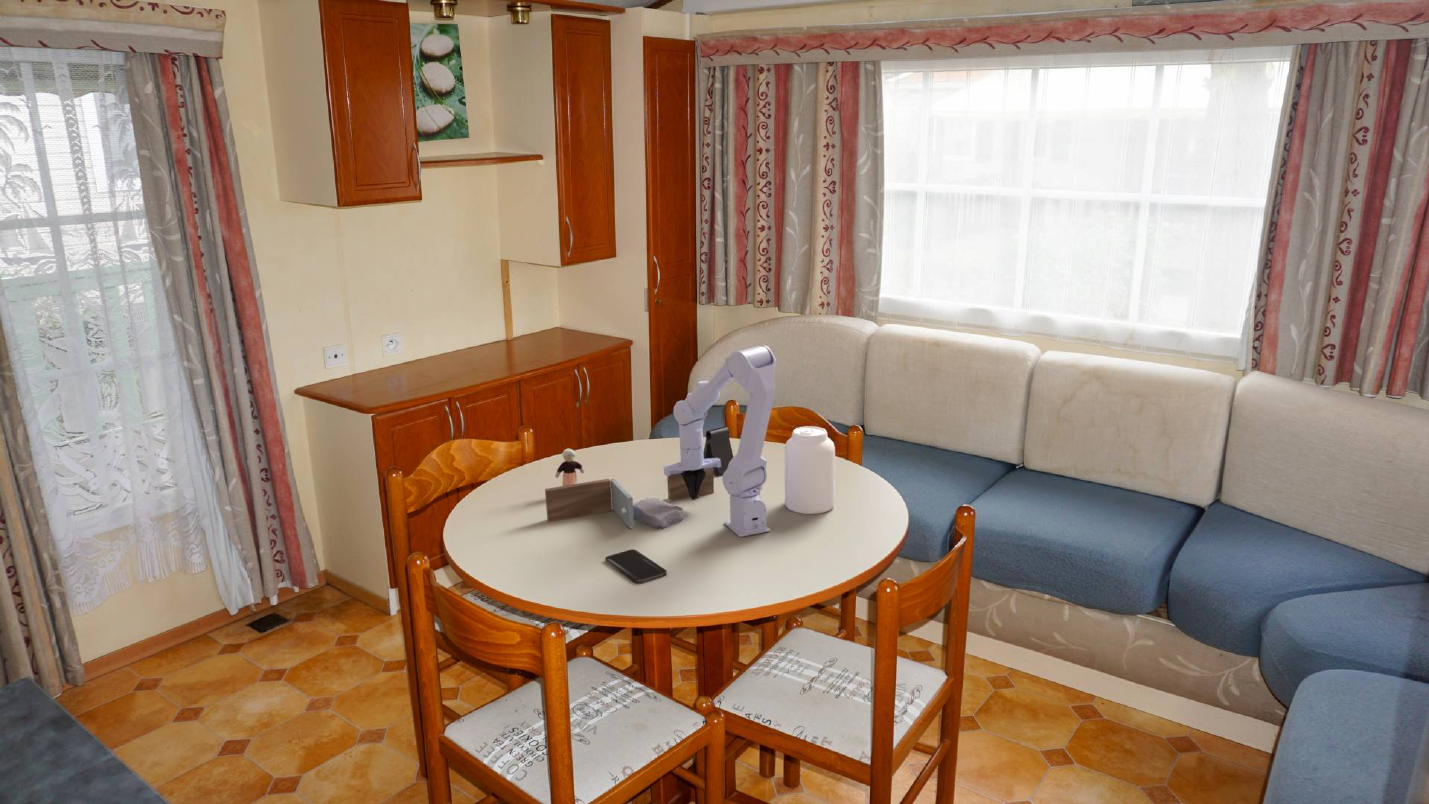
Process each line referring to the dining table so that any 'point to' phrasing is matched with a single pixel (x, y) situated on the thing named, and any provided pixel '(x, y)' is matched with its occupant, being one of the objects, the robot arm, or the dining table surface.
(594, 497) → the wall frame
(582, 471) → the grandmother figurine
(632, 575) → the phone
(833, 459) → the can
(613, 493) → the door
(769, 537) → the dining table surface
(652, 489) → the dining table surface
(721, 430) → the phone stand
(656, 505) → the stone block
